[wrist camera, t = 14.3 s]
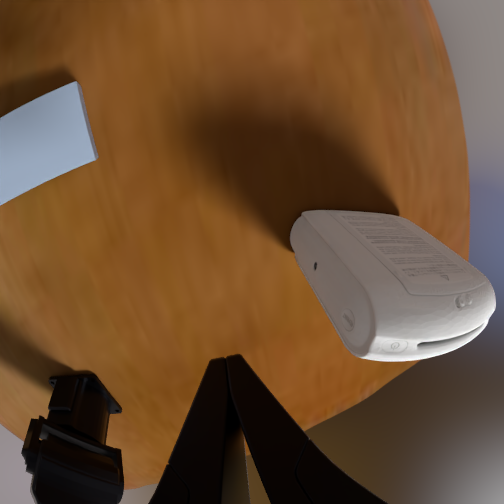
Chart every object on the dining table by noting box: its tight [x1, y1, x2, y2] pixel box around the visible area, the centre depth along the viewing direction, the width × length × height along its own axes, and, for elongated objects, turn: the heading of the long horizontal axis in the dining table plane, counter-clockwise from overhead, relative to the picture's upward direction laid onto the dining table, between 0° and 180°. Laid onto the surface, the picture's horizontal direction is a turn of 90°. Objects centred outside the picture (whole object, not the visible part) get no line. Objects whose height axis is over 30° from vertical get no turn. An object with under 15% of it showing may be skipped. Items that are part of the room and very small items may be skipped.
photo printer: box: [290, 210, 496, 361], centre depth 16 cm, size 10×4×12 cm, turn 85°
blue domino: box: [0, 81, 98, 205], centre depth 13 cm, size 5×2×10 cm
